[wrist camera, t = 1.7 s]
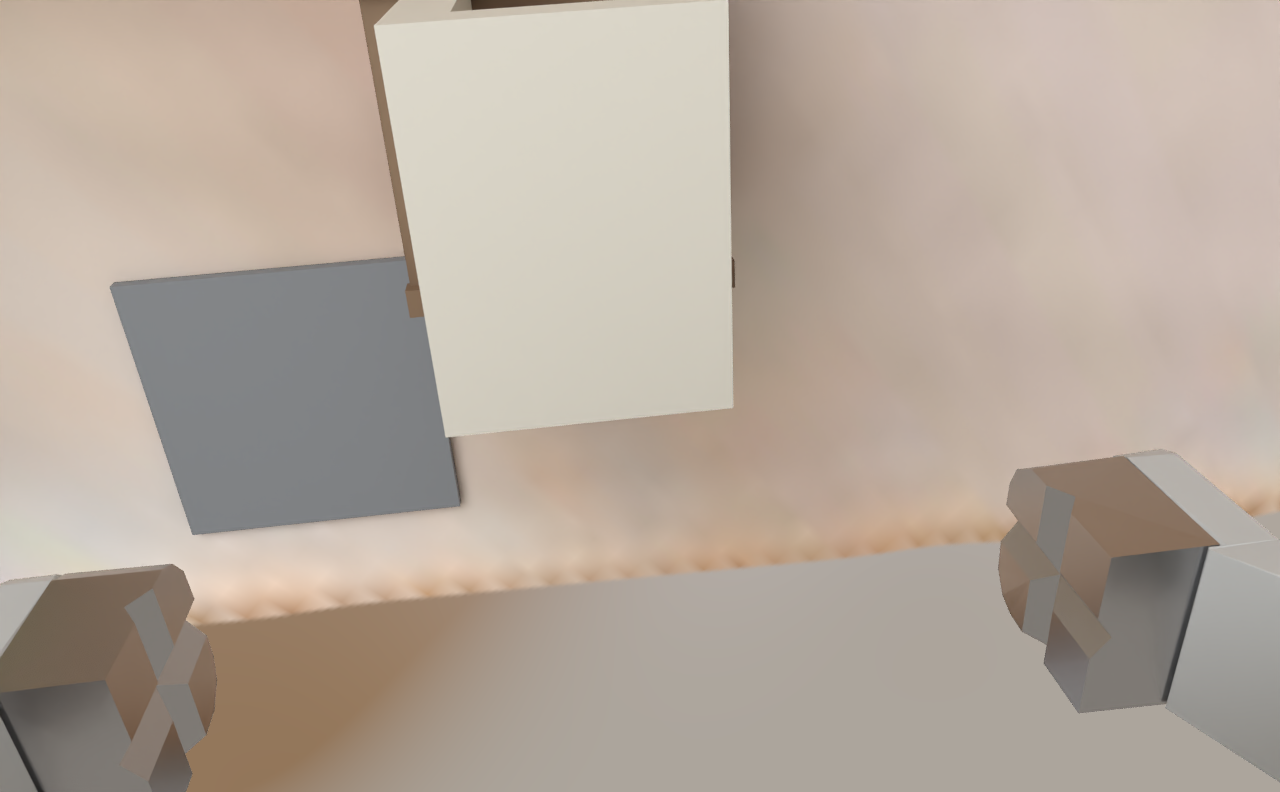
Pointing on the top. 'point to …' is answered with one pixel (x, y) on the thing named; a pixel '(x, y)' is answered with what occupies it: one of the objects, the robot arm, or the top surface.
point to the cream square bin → (567, 205)
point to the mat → (291, 393)
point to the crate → (373, 8)
